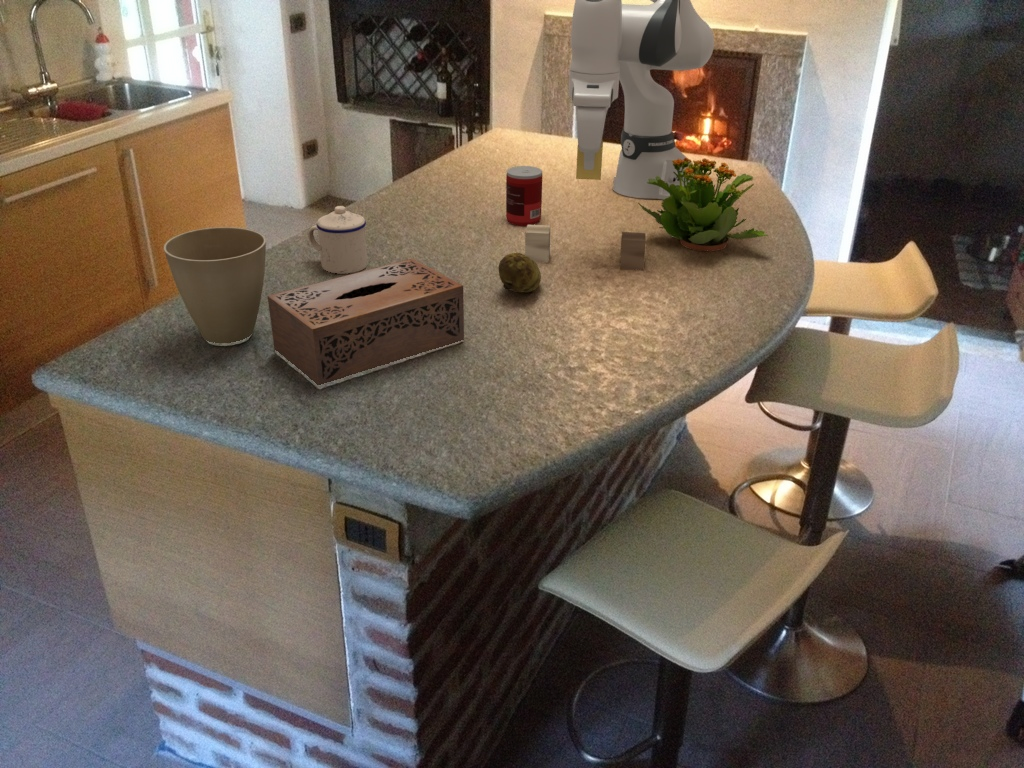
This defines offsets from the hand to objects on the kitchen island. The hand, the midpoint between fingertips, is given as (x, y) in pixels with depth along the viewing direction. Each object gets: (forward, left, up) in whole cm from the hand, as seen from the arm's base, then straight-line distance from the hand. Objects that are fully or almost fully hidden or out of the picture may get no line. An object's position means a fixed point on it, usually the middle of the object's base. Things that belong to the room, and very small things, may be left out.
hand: (589, 164), depth 165 cm
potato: (+19, +4, -19) cm, 27 cm away
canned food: (-6, -26, -19) cm, 33 cm away
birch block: (+6, -7, -19) cm, 21 cm away
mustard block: (0, 0, -2) cm, 2 cm away
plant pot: (+68, -10, -19) cm, 71 cm away
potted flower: (-26, +8, -19) cm, 33 cm away
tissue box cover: (+52, +7, -20) cm, 56 cm away
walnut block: (-6, +7, -19) cm, 21 cm away
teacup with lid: (+39, -27, -19) cm, 51 cm away
